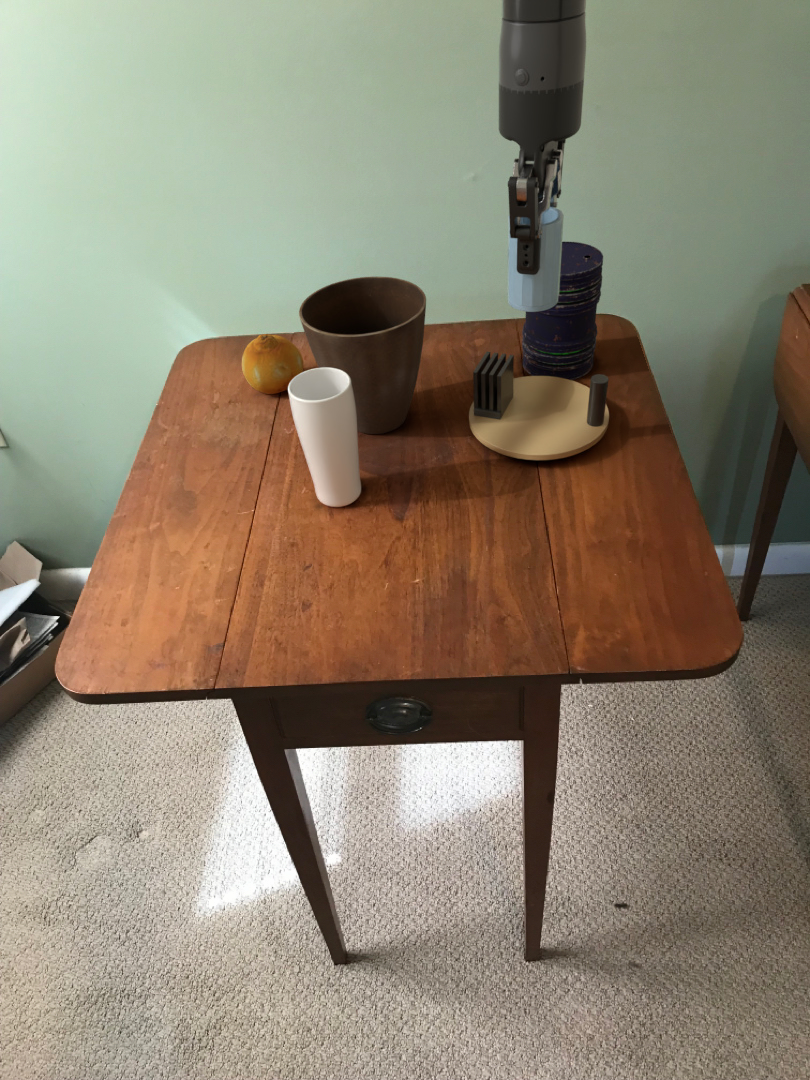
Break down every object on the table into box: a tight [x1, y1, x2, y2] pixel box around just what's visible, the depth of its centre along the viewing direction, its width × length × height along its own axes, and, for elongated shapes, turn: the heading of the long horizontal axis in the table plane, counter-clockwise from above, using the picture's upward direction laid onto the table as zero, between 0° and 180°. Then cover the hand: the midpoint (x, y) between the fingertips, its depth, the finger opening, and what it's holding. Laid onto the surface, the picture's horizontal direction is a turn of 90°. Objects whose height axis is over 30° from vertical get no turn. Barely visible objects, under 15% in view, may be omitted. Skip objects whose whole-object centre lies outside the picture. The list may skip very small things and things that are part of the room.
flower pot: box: [298, 275, 427, 435], centre depth 95 cm, size 15×15×16 cm
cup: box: [506, 207, 565, 313], centre depth 80 cm, size 5×5×9 cm
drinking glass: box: [287, 367, 362, 508], centre depth 84 cm, size 7×7×15 cm
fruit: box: [241, 333, 304, 395], centre depth 106 cm, size 8×8×8 cm
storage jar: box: [521, 241, 604, 381], centre depth 101 cm, size 10×10×15 cm
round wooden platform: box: [468, 351, 610, 460], centre depth 93 cm, size 17×17×7 cm
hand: (534, 259), depth 80 cm, fingers closed on cup, 5 cm apart
